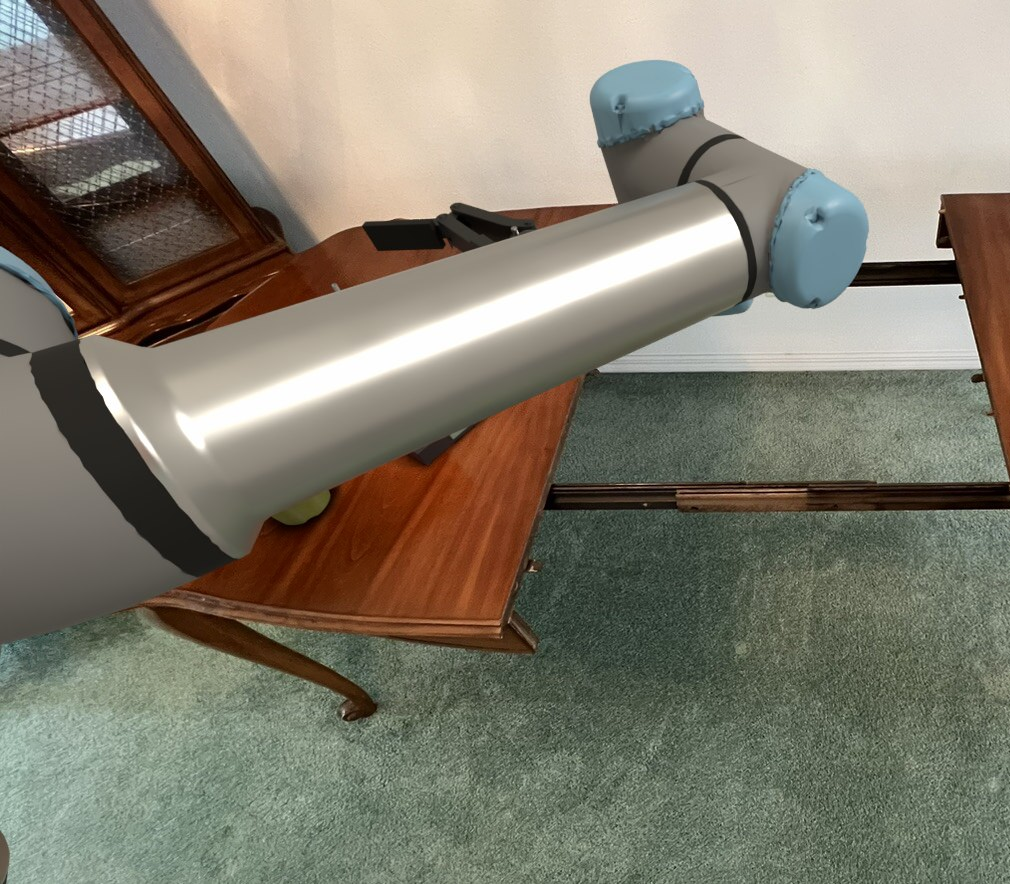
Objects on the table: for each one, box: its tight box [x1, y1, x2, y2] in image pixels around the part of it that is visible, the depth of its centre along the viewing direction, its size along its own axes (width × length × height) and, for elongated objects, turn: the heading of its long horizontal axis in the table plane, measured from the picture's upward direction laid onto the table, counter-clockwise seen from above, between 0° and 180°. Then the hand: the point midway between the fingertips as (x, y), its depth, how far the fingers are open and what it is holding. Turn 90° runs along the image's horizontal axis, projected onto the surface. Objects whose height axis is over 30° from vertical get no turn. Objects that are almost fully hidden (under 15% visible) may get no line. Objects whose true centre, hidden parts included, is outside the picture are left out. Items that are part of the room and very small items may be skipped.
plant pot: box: [270, 489, 331, 526], centre depth 80 cm, size 9×9×9 cm
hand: (336, 281), depth 58 cm, fingers open, 13 cm apart
